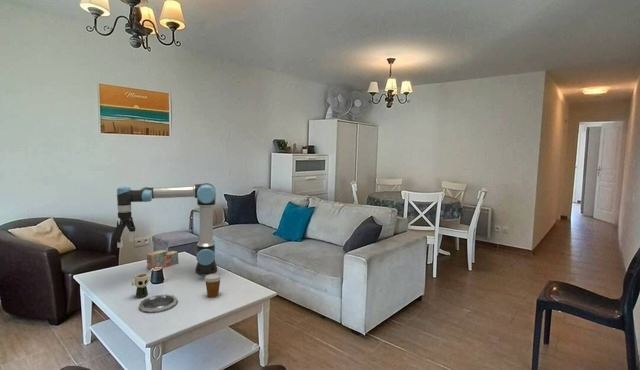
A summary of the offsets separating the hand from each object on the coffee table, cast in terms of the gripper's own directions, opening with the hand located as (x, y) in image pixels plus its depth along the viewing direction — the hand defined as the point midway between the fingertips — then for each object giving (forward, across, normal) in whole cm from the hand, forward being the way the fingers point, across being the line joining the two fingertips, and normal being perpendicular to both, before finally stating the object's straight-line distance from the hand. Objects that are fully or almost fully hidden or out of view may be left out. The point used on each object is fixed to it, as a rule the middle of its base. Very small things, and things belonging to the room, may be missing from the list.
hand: (125, 244), depth 216 cm
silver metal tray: (+27, +28, +32) cm, 50 cm away
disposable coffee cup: (+27, +15, +59) cm, 66 cm away
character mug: (+27, +17, +17) cm, 36 cm away
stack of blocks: (+27, -35, +8) cm, 45 cm away
